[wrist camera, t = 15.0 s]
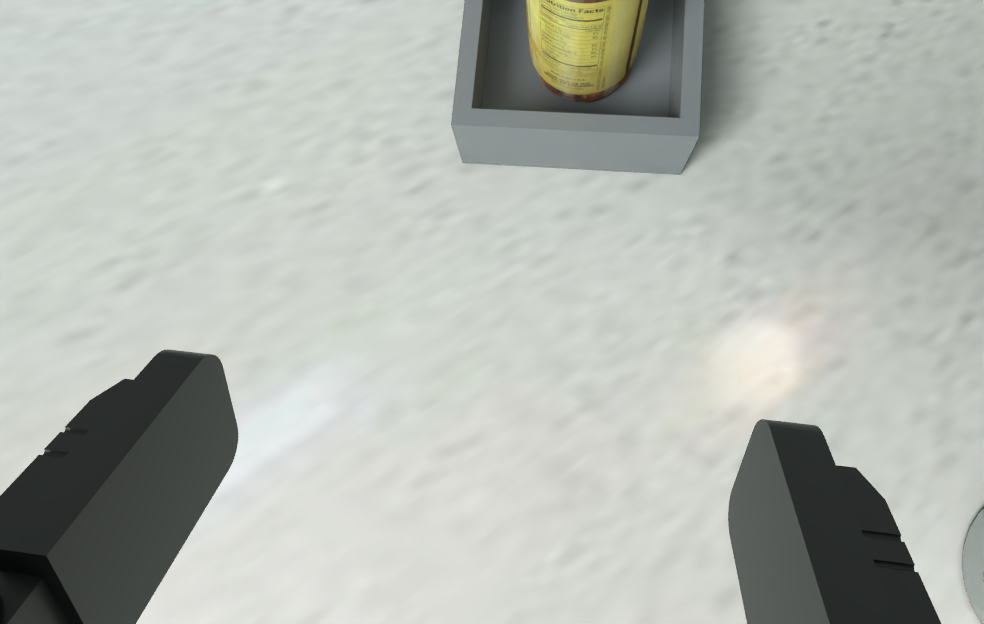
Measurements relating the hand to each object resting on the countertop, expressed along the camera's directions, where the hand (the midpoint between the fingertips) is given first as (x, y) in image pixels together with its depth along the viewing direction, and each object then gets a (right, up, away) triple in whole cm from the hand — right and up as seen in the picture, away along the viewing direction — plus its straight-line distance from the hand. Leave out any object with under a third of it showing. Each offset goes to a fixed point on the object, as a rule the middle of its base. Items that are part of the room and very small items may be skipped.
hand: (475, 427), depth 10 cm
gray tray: (+5, +17, +31) cm, 36 cm away
